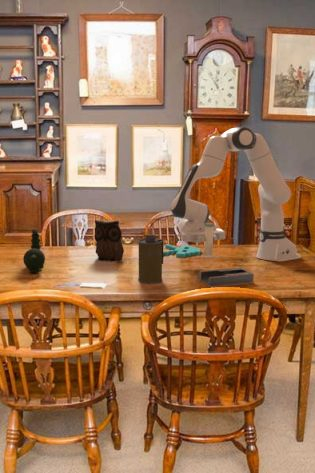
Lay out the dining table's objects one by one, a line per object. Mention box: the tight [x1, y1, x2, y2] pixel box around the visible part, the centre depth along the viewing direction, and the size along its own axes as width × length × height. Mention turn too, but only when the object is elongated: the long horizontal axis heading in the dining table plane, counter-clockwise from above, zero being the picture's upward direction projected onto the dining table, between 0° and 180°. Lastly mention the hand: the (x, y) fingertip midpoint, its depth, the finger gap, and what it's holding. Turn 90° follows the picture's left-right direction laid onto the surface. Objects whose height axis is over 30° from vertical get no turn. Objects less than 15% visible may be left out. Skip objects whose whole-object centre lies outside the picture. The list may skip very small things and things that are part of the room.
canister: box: [137, 233, 164, 284], centre depth 217 cm, size 11×10×20 cm
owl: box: [94, 219, 125, 263], centre depth 251 cm, size 13×13×20 cm
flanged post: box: [201, 222, 216, 259], centre depth 221 cm, size 6×6×15 cm
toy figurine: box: [22, 228, 46, 275], centre depth 233 cm, size 9×19×25 cm
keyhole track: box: [198, 266, 255, 288], centre depth 217 cm, size 20×12×4 cm, turn 109°
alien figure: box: [163, 243, 202, 258], centre depth 268 cm, size 20×2×20 cm
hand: (209, 239), depth 220 cm, fingers closed on flanged post, 3 cm apart
